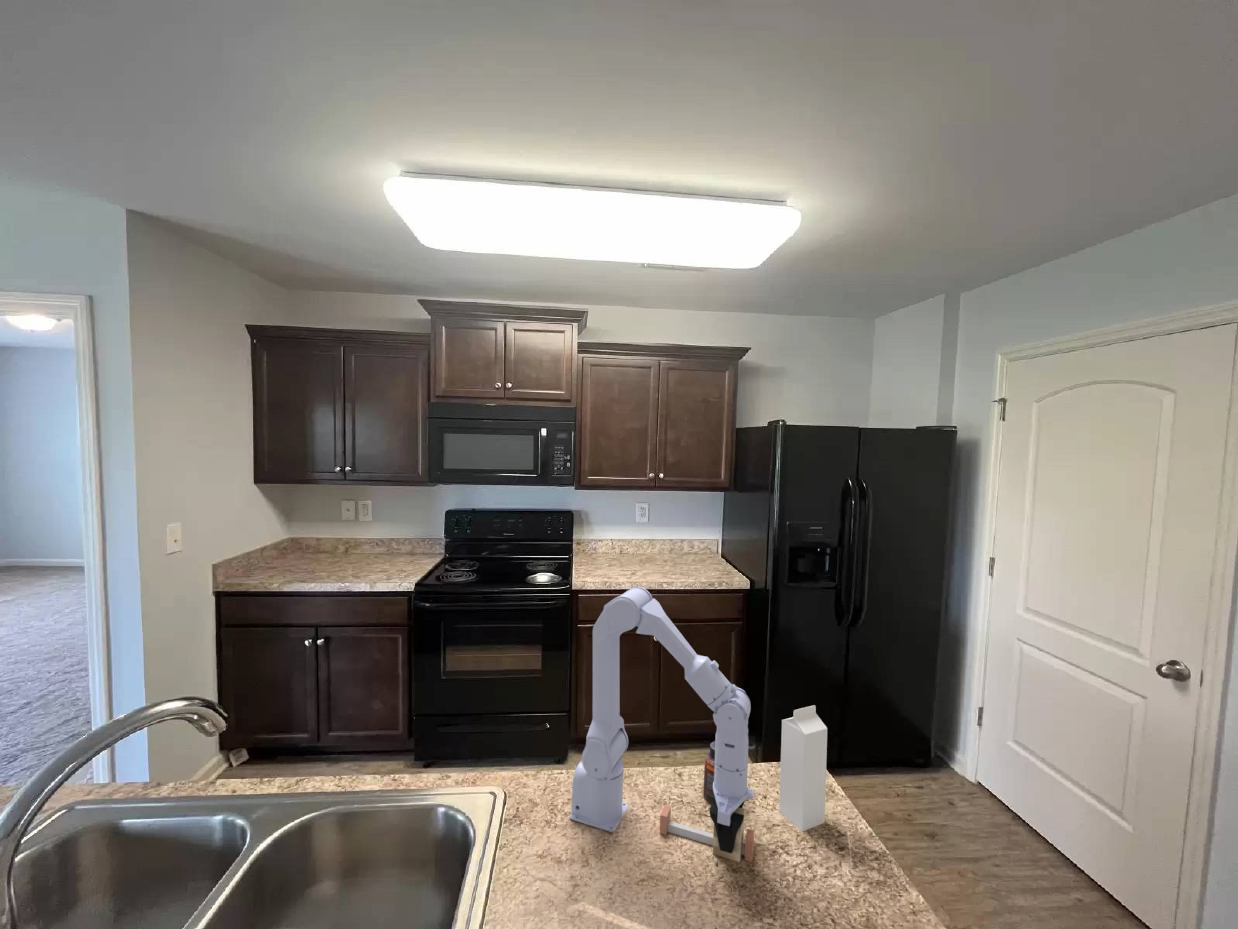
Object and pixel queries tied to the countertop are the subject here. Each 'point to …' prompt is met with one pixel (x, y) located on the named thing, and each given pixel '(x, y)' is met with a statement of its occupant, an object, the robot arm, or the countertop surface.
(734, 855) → the slider block
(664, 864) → the countertop surface
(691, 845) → the countertop surface
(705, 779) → the supplement bottle
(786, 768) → the milk
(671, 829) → the rail board
